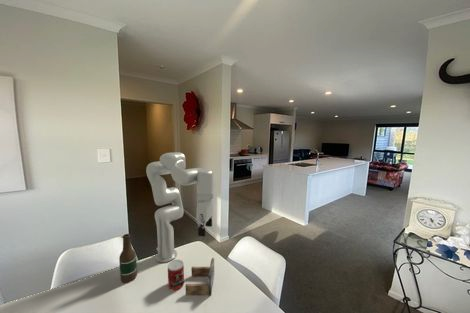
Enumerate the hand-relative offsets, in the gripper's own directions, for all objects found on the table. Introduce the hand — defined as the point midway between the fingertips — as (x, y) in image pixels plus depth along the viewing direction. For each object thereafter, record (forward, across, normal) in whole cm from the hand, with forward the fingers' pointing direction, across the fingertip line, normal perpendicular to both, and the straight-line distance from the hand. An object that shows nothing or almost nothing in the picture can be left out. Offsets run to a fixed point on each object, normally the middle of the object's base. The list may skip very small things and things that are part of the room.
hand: (205, 230), depth 93 cm
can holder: (+30, -1, -4) cm, 30 cm away
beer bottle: (+30, +2, -42) cm, 52 cm away
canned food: (+30, +2, -15) cm, 34 cm away
